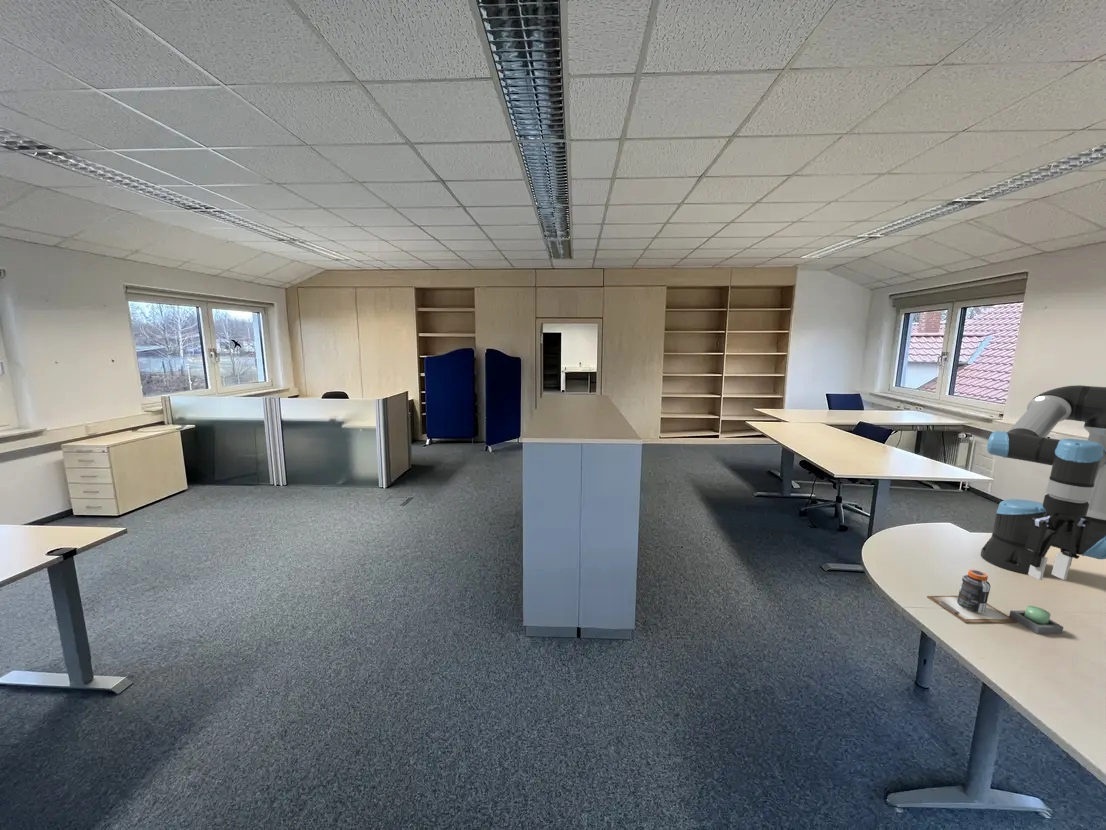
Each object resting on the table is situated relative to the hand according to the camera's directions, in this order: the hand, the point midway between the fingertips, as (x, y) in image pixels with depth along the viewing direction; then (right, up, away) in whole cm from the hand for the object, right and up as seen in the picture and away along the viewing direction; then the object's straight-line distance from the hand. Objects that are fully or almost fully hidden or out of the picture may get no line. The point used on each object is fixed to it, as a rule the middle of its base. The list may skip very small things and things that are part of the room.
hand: (1046, 576), depth 114 cm
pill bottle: (-12, -13, +9) cm, 20 cm away
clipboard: (-12, -13, +9) cm, 20 cm away
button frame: (0, -15, +3) cm, 15 cm away
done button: (0, -13, +3) cm, 13 cm away
